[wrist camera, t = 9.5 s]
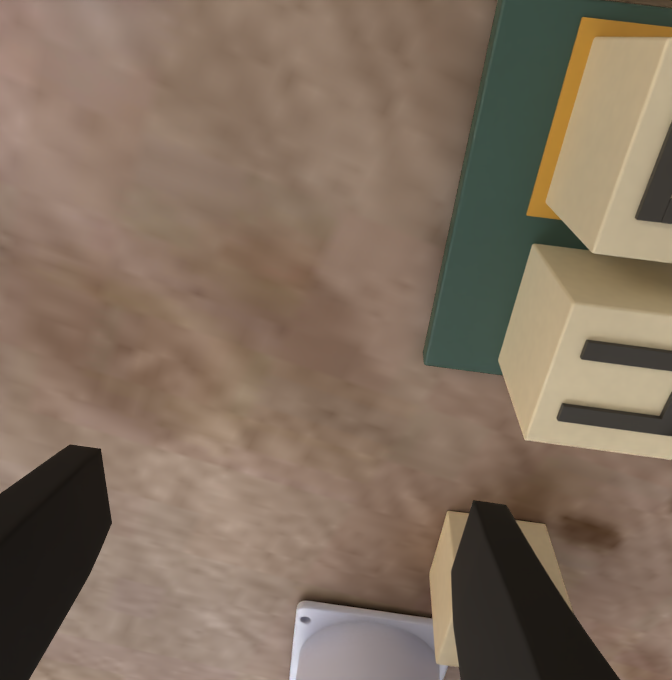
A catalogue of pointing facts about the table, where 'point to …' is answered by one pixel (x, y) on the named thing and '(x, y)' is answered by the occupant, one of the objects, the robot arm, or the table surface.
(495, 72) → the green board
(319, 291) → the table surface
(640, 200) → the block
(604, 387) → the U block
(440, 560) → the block
